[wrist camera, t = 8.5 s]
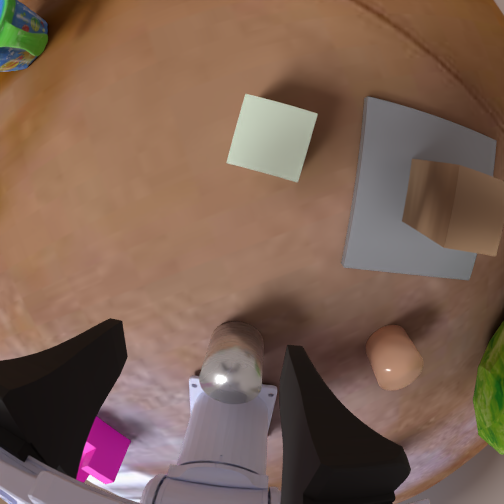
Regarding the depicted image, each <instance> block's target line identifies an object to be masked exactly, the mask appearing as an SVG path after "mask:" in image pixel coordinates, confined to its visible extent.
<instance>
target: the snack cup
mask: <svg viewBox="0 0 504 504" xmlns="http://www.w3.org/2000/svg"><path fill="white" fill-rule="evenodd" d="M47 26H48V24H47V22H46V21H45V20H43V19H42V18H41V17H40V16H39V15H37V14H36V13H35V12H33V11H31V10H30V9H29V8H28V7H26V6H25V5H24V4H22V3H21V2H19V1H17V0H0V72H1V71H17V70H22V69H25V68H27V67H28V66H29V64H31V63H32V62H33V61H34V60H35V59H36V57H37V56H39V55H40V54H41V53H42V52H43V51H44V49H45V46H46V44H47V42H48V35H47V32H48V29H47Z"/></svg>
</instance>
